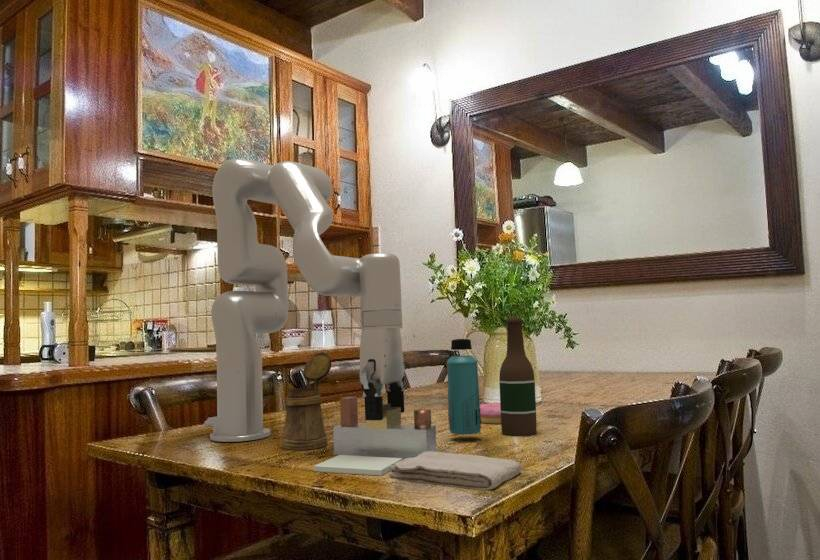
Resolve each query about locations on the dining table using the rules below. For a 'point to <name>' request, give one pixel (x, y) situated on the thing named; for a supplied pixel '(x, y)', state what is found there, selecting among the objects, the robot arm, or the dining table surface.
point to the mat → (357, 465)
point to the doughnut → (490, 413)
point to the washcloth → (456, 470)
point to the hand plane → (382, 435)
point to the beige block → (386, 418)
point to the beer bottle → (517, 385)
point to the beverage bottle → (463, 391)
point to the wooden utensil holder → (306, 409)
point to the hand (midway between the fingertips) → (385, 416)
